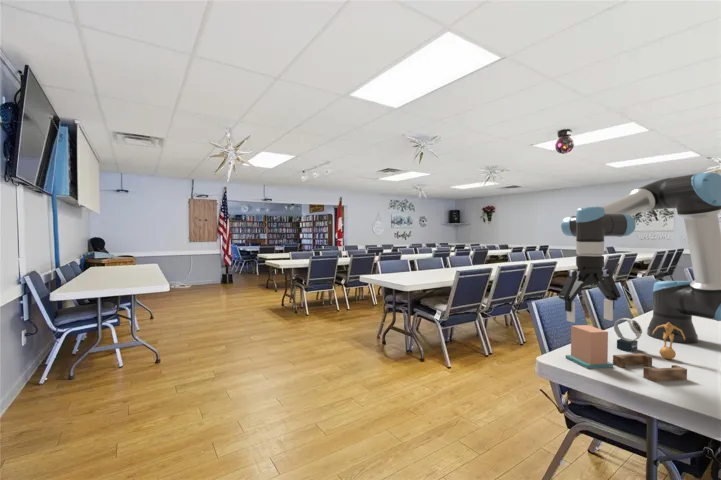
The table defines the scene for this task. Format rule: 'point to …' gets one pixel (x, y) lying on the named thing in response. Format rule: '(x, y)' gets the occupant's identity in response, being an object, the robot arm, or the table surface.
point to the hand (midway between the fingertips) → (589, 320)
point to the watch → (624, 342)
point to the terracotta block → (589, 344)
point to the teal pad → (587, 363)
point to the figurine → (668, 351)
